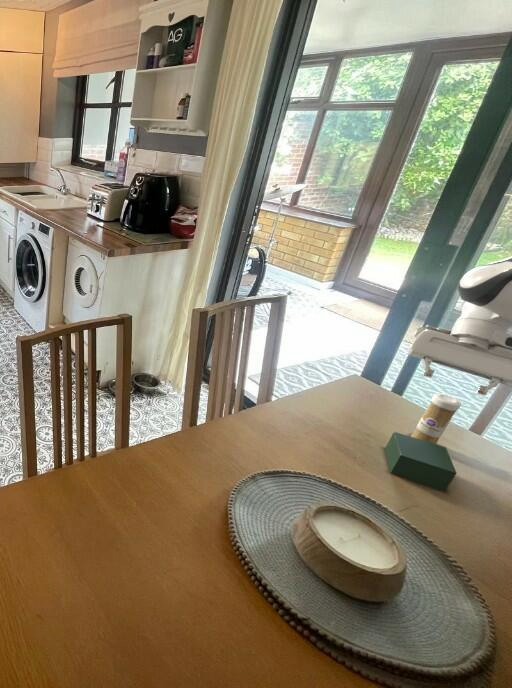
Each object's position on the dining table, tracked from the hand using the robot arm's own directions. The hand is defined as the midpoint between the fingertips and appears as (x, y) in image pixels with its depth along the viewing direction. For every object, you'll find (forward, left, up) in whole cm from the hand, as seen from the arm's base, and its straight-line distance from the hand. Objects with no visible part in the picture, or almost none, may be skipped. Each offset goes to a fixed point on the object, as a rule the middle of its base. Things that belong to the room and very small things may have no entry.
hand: (453, 384), depth 101 cm
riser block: (+6, +21, -14) cm, 26 cm away
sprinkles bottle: (+2, +8, -14) cm, 16 cm away
